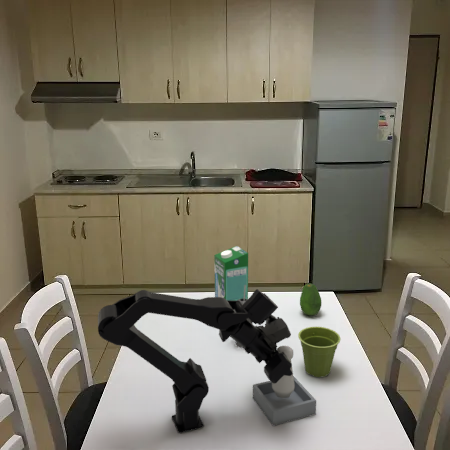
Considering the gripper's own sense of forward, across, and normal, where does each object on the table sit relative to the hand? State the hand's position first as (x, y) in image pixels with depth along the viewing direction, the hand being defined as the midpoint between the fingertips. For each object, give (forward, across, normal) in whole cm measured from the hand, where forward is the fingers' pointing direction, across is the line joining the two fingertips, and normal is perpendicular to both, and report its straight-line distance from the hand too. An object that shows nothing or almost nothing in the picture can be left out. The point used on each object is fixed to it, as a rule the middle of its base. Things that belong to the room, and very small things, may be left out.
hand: (288, 370), depth 122 cm
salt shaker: (+4, 0, +6) cm, 7 cm away
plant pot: (+18, +12, -3) cm, 22 cm away
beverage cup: (+6, +33, +9) cm, 35 cm away
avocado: (+26, +47, -12) cm, 55 cm away
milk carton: (+7, +54, +8) cm, 55 cm away
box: (+6, 0, +8) cm, 10 cm away
